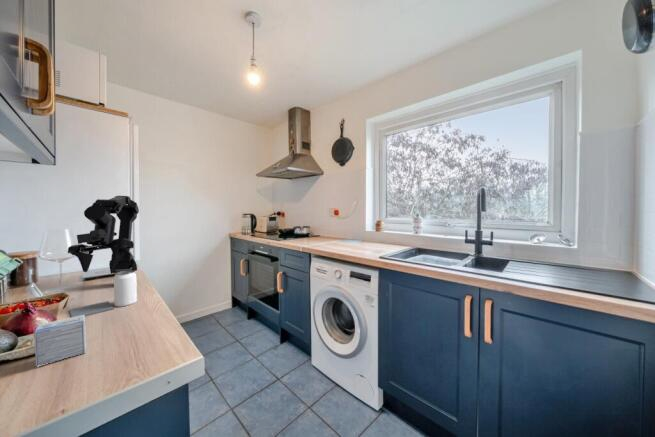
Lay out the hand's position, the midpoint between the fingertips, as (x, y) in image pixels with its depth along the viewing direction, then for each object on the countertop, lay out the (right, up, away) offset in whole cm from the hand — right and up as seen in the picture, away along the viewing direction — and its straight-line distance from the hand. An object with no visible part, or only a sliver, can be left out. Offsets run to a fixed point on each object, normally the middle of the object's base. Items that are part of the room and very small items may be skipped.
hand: (99, 269), depth 85 cm
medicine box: (+19, -15, -28) cm, 37 cm away
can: (+7, -14, +3) cm, 16 cm away
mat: (0, -14, -2) cm, 14 cm away
